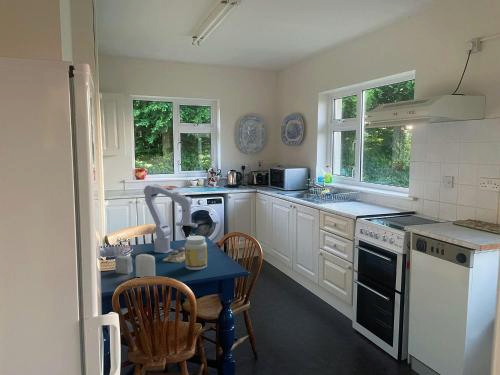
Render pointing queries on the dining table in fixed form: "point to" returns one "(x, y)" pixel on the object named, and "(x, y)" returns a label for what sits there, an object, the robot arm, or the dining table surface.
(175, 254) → the plug
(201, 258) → the supplement tub
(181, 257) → the board
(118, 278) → the dining table surface
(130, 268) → the medicine box
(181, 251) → the grey ball
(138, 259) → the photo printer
